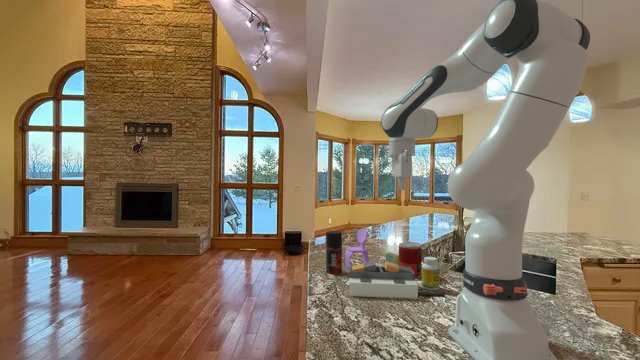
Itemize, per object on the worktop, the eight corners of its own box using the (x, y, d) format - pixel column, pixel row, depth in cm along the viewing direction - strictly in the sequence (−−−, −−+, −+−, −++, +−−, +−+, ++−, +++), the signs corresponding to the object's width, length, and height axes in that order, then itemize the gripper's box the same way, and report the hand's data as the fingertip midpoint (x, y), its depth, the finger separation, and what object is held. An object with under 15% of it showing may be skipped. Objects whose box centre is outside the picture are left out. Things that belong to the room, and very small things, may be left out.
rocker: (377, 272, 98) (375, 264, 99) (354, 277, 99) (352, 270, 99) (376, 267, 103) (374, 260, 104) (353, 272, 104) (352, 265, 104)
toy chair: (343, 265, 128) (343, 228, 128) (363, 263, 131) (363, 227, 131) (351, 270, 120) (351, 231, 120) (372, 268, 123) (372, 230, 123)
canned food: (422, 278, 111) (422, 247, 111) (399, 276, 113) (399, 246, 113) (420, 272, 118) (420, 243, 118) (398, 270, 120) (398, 242, 120)
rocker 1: (409, 279, 97) (411, 272, 97) (385, 272, 98) (387, 265, 98) (406, 274, 102) (408, 267, 102) (383, 267, 103) (385, 260, 103)
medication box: (385, 262, 133) (385, 253, 133) (390, 261, 134) (390, 252, 134) (405, 269, 123) (405, 259, 123) (410, 268, 124) (410, 258, 124)
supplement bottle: (426, 283, 105) (426, 255, 105) (442, 287, 101) (442, 258, 101) (418, 287, 101) (418, 258, 101) (434, 292, 97) (434, 261, 97)
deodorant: (328, 274, 115) (328, 233, 115) (324, 270, 121) (324, 231, 121) (344, 273, 116) (344, 233, 116) (338, 269, 122) (338, 230, 122)
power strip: (447, 299, 91) (447, 279, 91) (349, 295, 94) (349, 275, 94) (436, 285, 103) (436, 267, 103) (349, 282, 106) (349, 265, 106)
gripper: (417, 147, 98) (417, 191, 98) (406, 153, 119) (406, 189, 119) (396, 147, 99) (396, 191, 99) (389, 153, 119) (389, 189, 119)
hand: (401, 190), depth 109 cm, fingers closed
